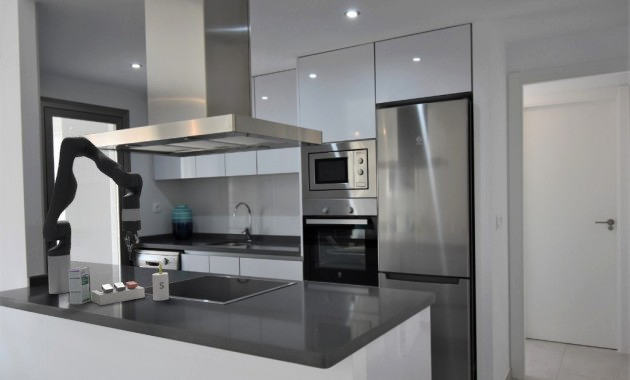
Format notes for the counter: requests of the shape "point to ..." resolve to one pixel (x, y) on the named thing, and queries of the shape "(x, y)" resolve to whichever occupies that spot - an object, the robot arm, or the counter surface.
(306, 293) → the counter surface
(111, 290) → the rocker
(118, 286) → the rocker
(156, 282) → the candle
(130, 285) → the rocker
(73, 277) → the syrup box
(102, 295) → the power strip
